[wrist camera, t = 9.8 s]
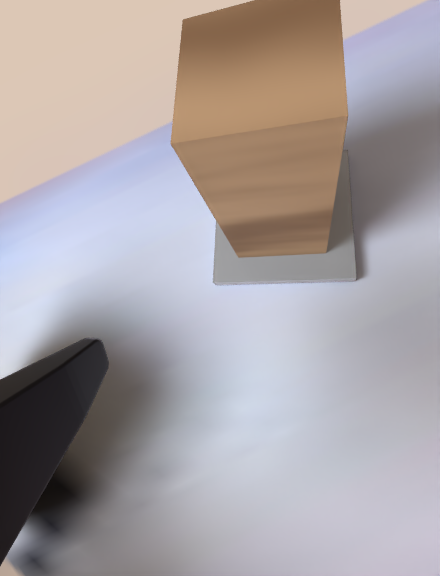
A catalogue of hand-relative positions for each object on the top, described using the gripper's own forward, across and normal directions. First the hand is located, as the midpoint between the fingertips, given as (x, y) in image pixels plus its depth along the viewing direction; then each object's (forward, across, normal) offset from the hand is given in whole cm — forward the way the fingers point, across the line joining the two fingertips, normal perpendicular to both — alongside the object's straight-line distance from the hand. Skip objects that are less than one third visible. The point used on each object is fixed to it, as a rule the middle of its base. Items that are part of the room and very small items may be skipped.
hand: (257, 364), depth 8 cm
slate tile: (+13, 0, 0) cm, 13 cm away
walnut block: (+13, 0, 0) cm, 13 cm away
